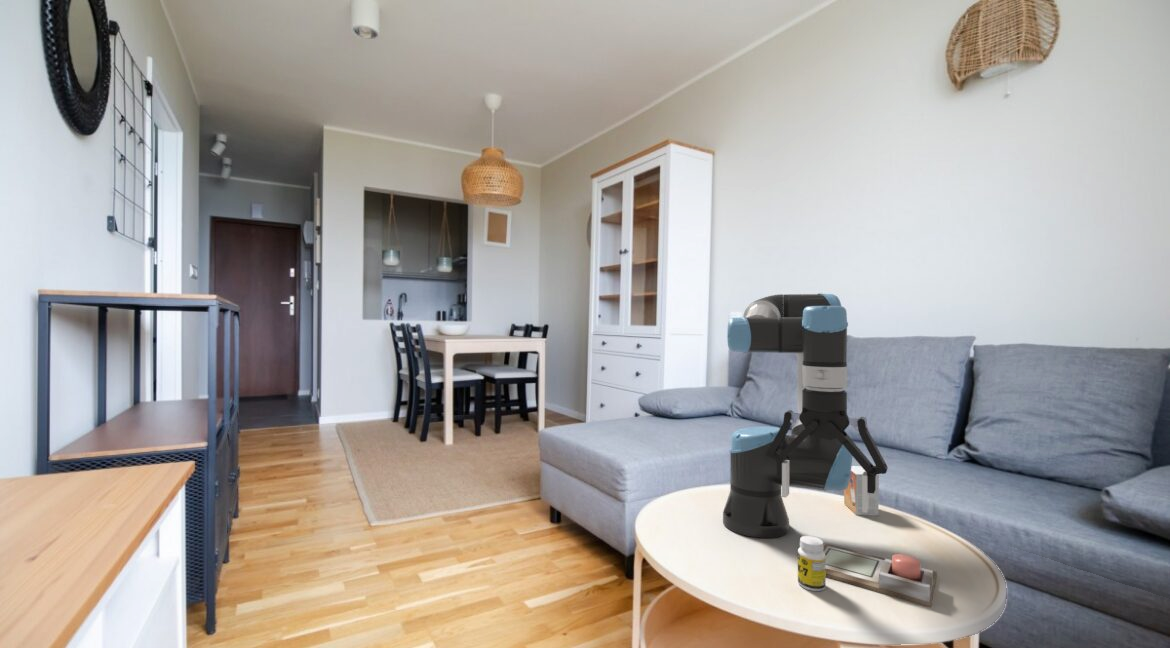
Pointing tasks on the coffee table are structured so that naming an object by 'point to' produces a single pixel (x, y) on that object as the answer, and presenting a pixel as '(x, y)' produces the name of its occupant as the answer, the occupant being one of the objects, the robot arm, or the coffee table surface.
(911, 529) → the coffee table surface
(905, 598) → the board
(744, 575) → the coffee table surface
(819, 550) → the supplement bottle
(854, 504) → the small box
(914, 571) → the button
